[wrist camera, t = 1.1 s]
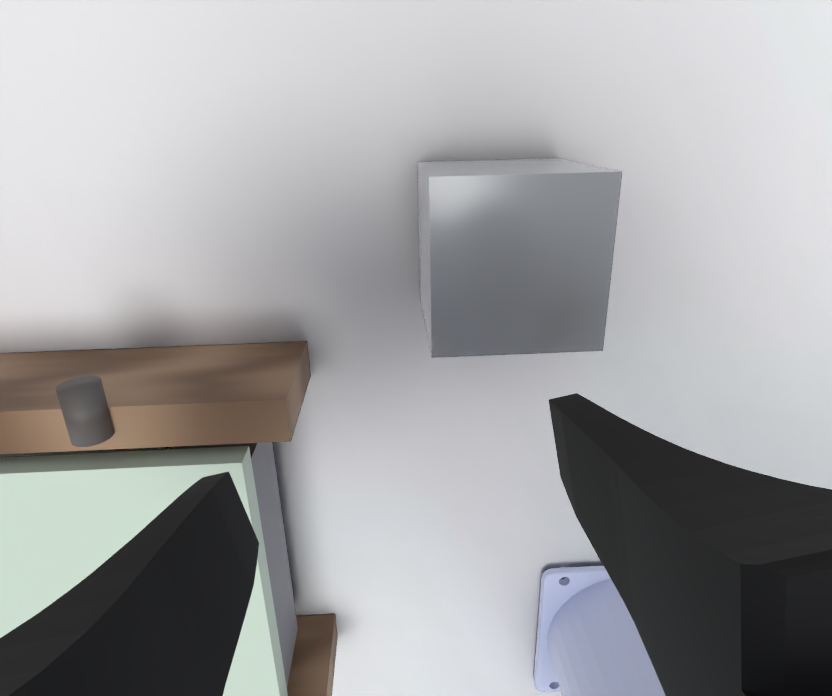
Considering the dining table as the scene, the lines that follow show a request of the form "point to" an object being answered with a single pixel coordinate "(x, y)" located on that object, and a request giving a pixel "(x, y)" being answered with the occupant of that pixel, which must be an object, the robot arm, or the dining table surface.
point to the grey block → (515, 255)
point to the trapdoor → (124, 518)
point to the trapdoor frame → (167, 423)
